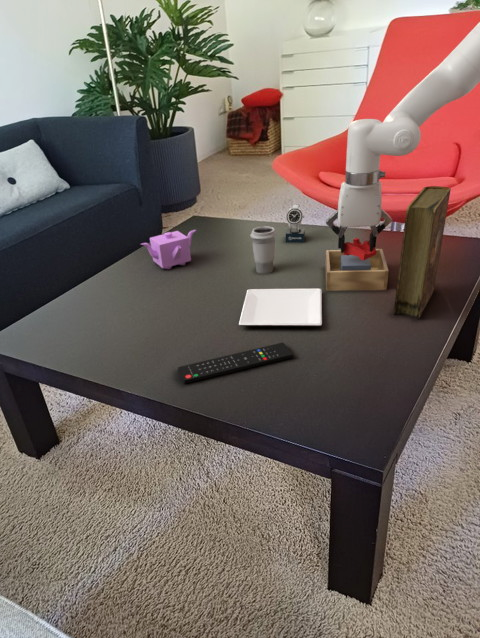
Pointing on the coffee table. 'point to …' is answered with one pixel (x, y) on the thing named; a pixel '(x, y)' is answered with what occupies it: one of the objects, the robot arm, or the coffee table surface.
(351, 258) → the grey block
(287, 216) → the watch
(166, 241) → the teapot
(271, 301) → the plate
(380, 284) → the crate
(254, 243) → the cup
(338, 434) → the coffee table surface
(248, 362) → the remote control
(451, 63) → the robot arm
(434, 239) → the book
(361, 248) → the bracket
